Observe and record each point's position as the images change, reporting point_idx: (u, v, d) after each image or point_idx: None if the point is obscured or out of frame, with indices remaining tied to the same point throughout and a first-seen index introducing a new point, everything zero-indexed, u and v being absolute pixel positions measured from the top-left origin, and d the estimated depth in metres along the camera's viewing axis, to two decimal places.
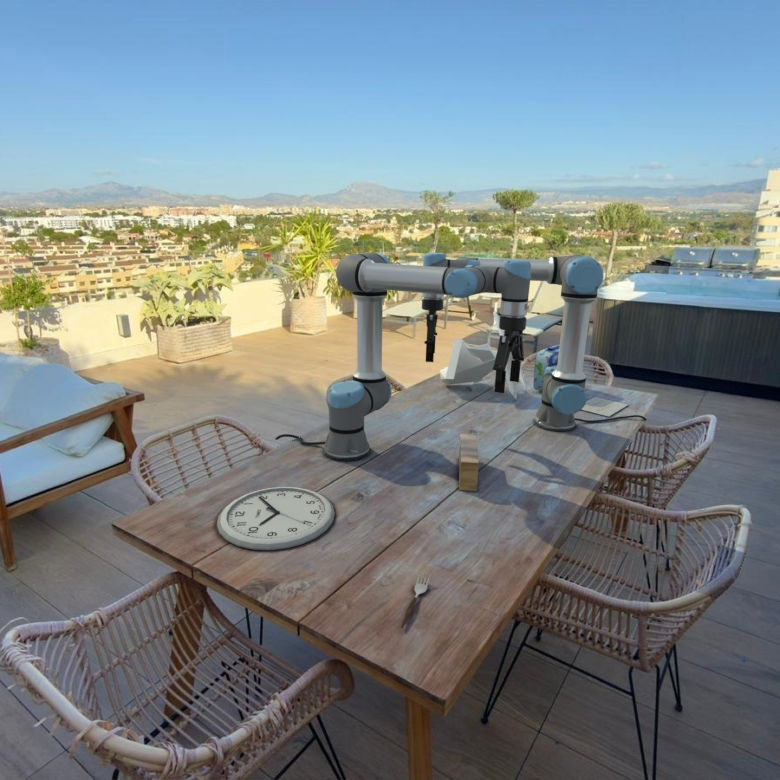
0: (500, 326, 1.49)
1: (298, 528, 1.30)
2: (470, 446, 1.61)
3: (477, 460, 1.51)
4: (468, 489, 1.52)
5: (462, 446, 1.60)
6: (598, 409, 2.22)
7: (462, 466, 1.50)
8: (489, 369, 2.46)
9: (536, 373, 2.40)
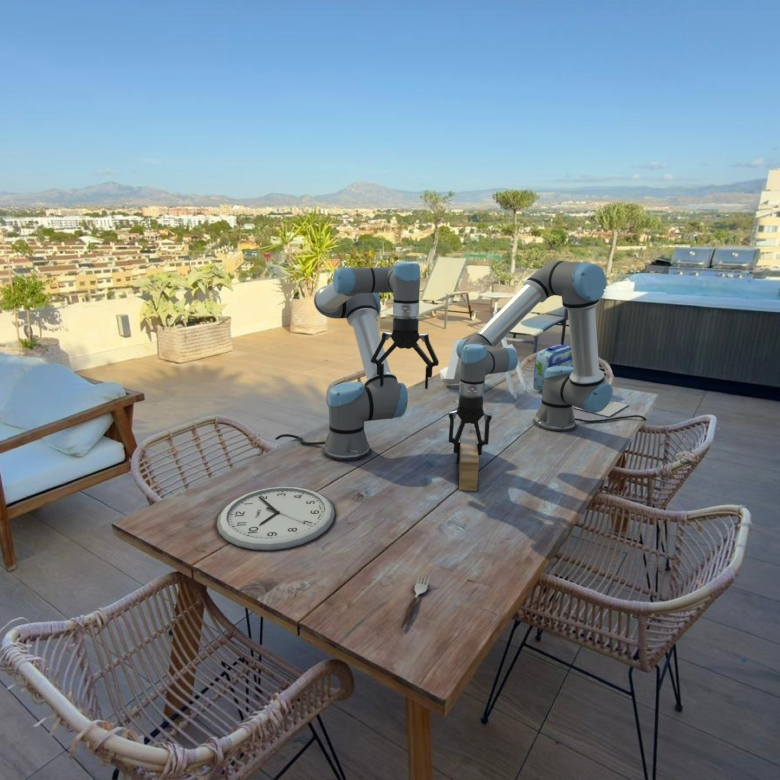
0: None
1: (298, 528, 1.30)
2: (470, 446, 1.61)
3: (477, 460, 1.51)
4: (468, 489, 1.52)
5: (462, 446, 1.60)
6: None
7: (462, 466, 1.50)
8: None
9: (536, 373, 2.40)
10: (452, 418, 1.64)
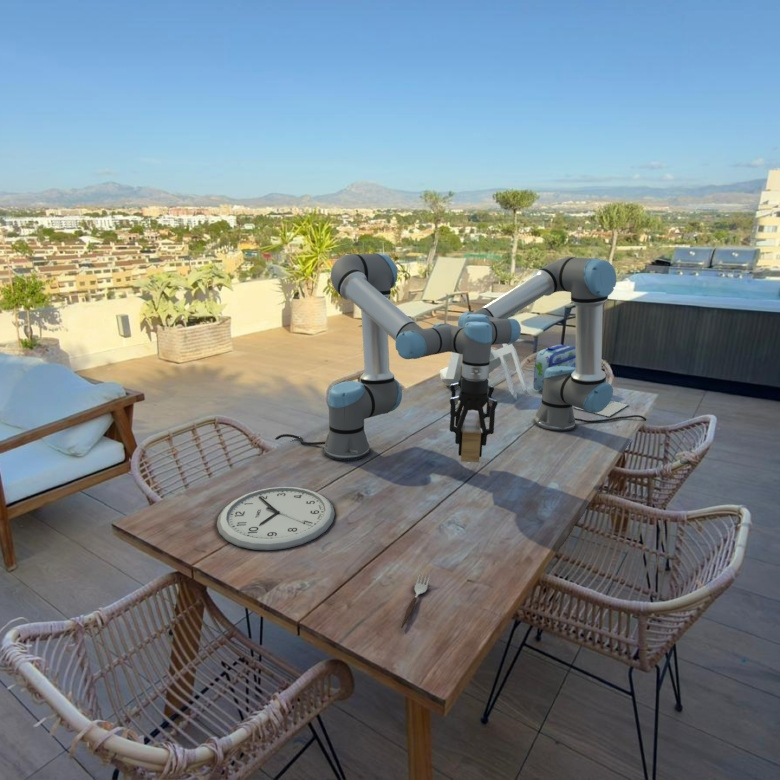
0: None
1: (298, 528, 1.30)
2: (472, 418, 1.58)
3: (479, 430, 1.48)
4: (470, 460, 1.49)
5: None
6: None
7: (464, 436, 1.47)
8: (489, 369, 2.46)
9: (536, 373, 2.40)
10: (454, 390, 1.61)
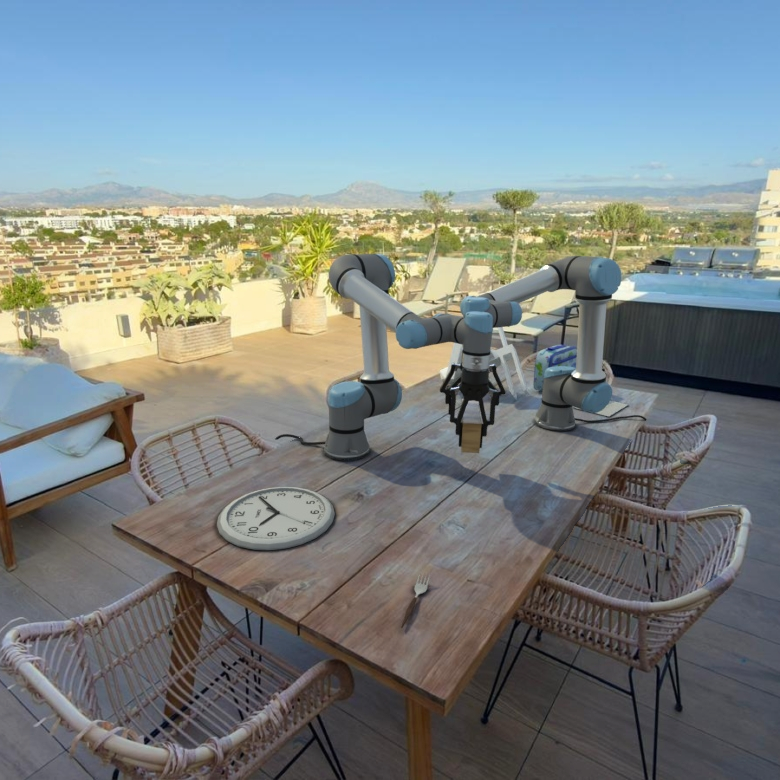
0: None
1: (298, 528, 1.30)
2: (472, 409, 1.57)
3: (480, 421, 1.47)
4: (470, 451, 1.48)
5: None
6: None
7: (464, 427, 1.46)
8: None
9: (536, 373, 2.40)
10: (453, 370, 1.61)
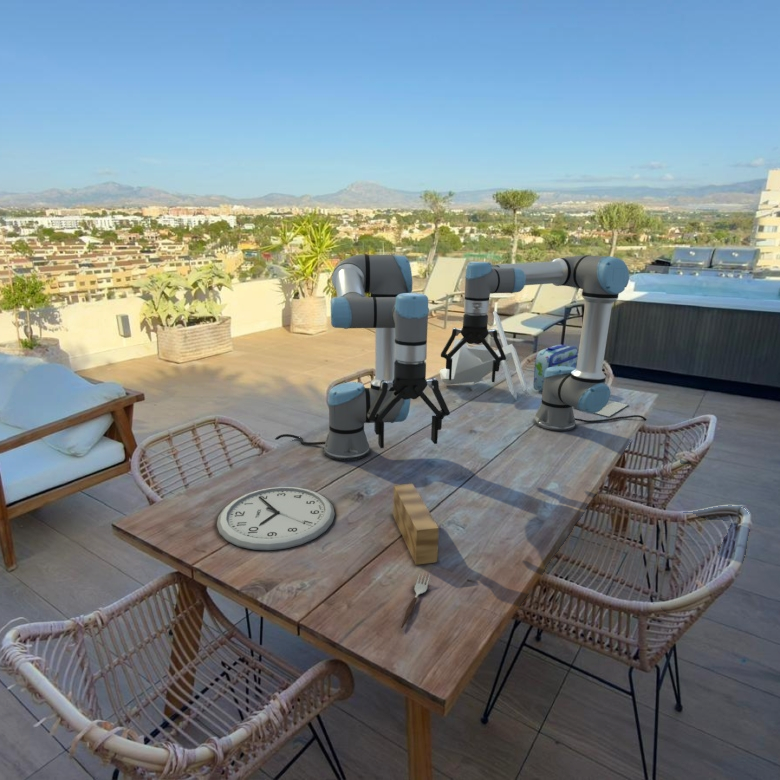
0: (423, 375, 1.22)
1: (298, 528, 1.30)
2: (414, 507, 1.25)
3: (396, 488, 1.34)
4: None
5: (423, 505, 1.26)
6: None
7: None
8: (489, 369, 2.46)
9: (536, 373, 2.40)
10: (454, 334, 1.62)
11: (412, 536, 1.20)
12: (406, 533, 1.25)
